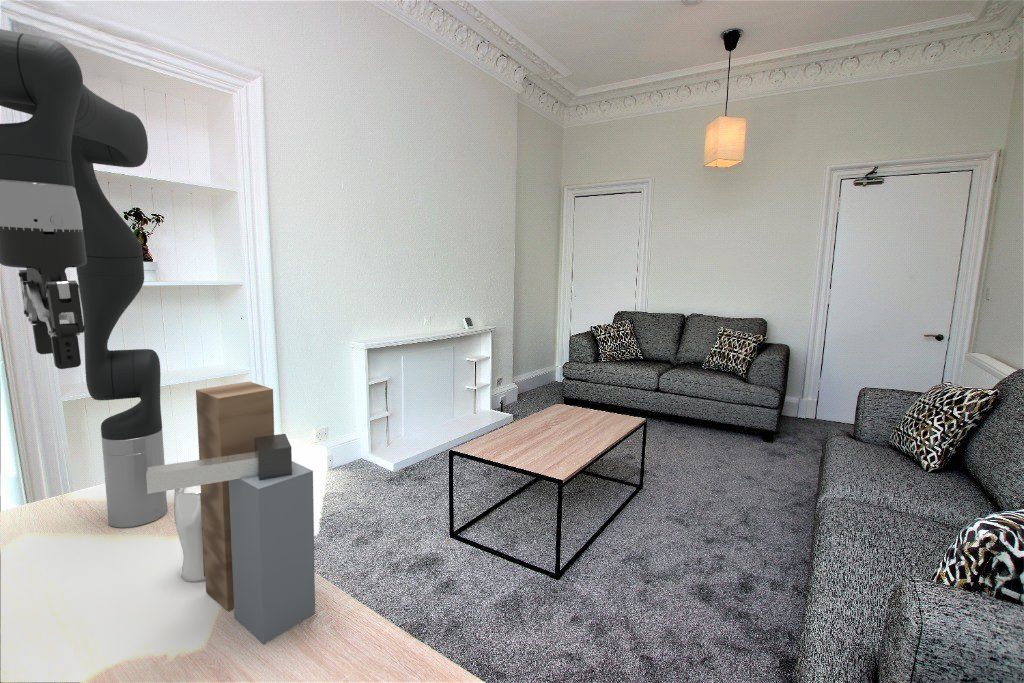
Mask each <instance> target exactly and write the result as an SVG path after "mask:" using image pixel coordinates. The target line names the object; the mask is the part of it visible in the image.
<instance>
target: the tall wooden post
mask: <svg viewBox="0 0 1024 683" xmlns="http://www.w3.org/2000/svg"><path fill="white" fill-rule="evenodd" d="M195 399H196V402H195V403H196V404H195V405H196V418H197V419H196V423H197V440H198V460H202V459H209V458H216V457H223V456H230V455H237V454H244V453H251V452H255V443H254V438H255V437H263V436H271V435H275V415H274V414H275V413H274V412H275V411H274V388H271V387H268V386H265V385H261V384H259V383H256V382H252V381H243V382H237V383H236V382H235V383H231V384H225V385H224V384H223V385H217V386H212V387H211V386H210V387H204V388H200V389H199V388H198V389H195ZM201 504H202V524H203V543H204V563H205V580H204V582H205V593H206V594H208V595H209V596H210V598H211V599H213V600H214V601H215V602H216V603H218V605H220V606H221V607H222V608H223V609H224V610H225V611H226V612H229V613H230V611H232V610H234V594H233V570H232V546H231V522H230V498H229V480H228V481H222V482H216V483H210V484H204V485H201Z"/></svg>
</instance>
